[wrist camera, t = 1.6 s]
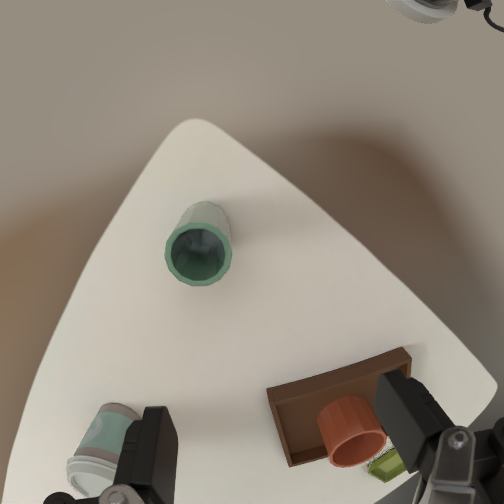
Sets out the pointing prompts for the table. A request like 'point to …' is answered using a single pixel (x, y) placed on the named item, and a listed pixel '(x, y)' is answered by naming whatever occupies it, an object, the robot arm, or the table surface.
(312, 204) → the table surface
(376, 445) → the tumbler
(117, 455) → the coffee cup
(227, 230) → the small cup
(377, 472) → the saucer
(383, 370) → the tray
